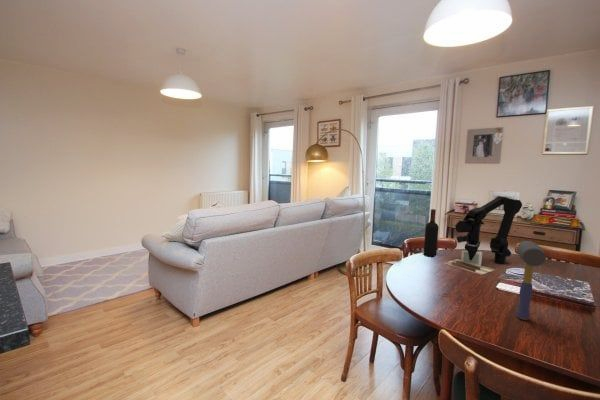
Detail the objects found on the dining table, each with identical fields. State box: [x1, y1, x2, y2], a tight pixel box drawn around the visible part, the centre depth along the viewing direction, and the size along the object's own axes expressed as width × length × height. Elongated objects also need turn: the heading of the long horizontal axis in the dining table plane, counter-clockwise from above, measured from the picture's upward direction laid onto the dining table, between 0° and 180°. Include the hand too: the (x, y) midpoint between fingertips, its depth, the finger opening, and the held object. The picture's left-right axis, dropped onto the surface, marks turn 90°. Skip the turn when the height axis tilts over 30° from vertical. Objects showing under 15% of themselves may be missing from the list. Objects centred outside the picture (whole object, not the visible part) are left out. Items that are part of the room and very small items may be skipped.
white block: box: [460, 248, 483, 267], centre depth 171 cm, size 10×3×8 cm, turn 54°
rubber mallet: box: [516, 240, 547, 321], centre depth 112 cm, size 12×8×30 cm, turn 152°
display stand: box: [444, 258, 496, 276], centre depth 168 cm, size 15×21×2 cm
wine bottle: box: [423, 208, 439, 258], centre depth 188 cm, size 8×8×30 cm
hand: (471, 258), depth 171 cm, fingers open, 9 cm apart
